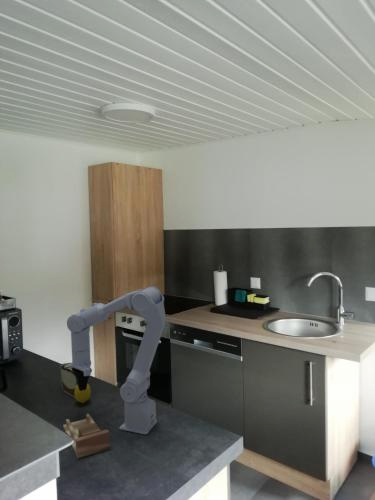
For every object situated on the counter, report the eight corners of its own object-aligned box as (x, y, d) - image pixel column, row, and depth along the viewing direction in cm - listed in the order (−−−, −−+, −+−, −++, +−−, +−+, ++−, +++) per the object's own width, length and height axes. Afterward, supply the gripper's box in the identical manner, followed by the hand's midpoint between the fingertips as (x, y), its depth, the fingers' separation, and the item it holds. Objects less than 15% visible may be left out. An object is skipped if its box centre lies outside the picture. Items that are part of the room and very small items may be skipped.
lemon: (84, 398, 139) (84, 376, 138) (94, 402, 135) (93, 380, 135) (71, 403, 134) (70, 381, 134) (81, 408, 131) (80, 386, 130)
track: (63, 427, 119) (62, 412, 119) (91, 419, 124) (91, 404, 123) (77, 458, 103) (77, 441, 103) (109, 448, 108) (109, 431, 107)
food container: (92, 393, 142) (91, 367, 141) (77, 399, 138) (76, 372, 137) (75, 384, 151) (73, 359, 150) (60, 389, 146) (59, 364, 145)
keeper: (78, 440, 110) (78, 427, 110) (95, 435, 113) (95, 422, 112) (83, 449, 106) (82, 435, 105) (100, 443, 108) (100, 430, 108)
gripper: (63, 345, 128) (65, 384, 129) (73, 358, 115) (75, 401, 116) (84, 341, 131) (86, 379, 132) (96, 354, 119) (98, 395, 120)
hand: (82, 389), depth 124 cm, fingers closed
